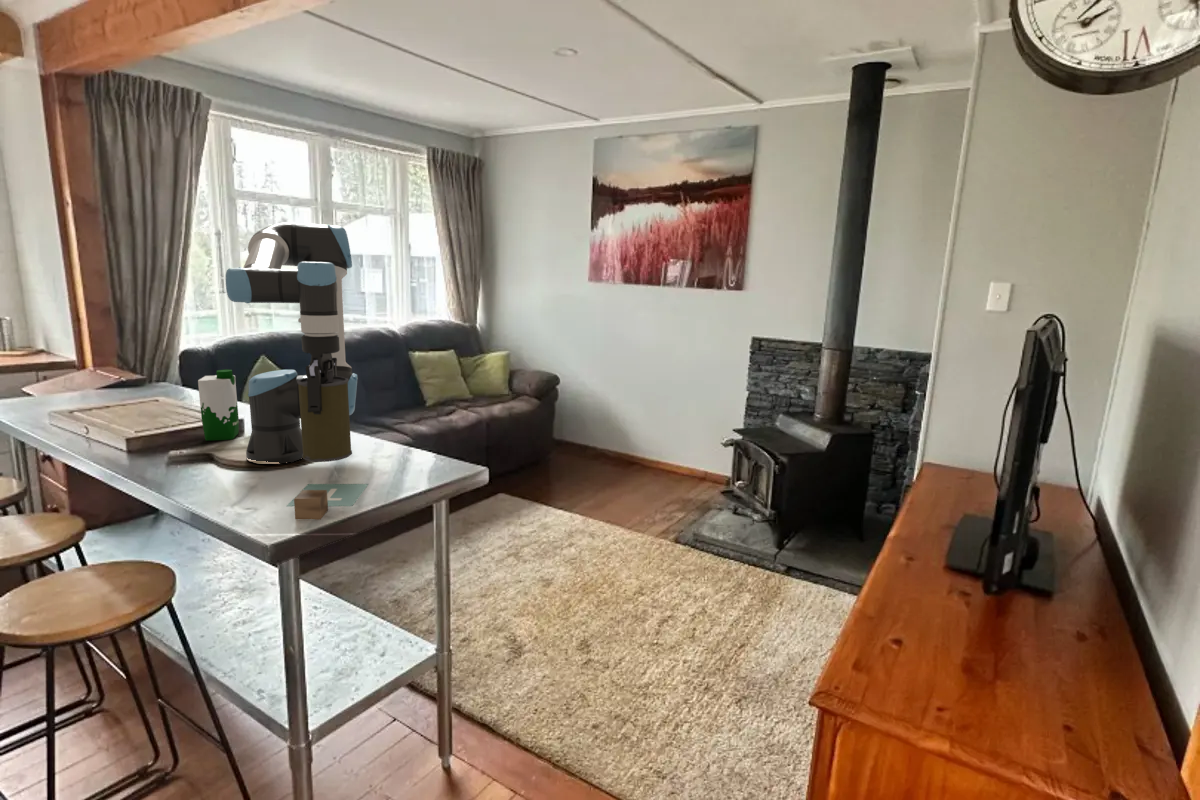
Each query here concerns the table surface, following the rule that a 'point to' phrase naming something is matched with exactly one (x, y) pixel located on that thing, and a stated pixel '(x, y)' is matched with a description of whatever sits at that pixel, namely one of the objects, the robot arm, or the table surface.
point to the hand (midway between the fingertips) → (326, 436)
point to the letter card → (338, 493)
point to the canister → (326, 421)
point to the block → (311, 504)
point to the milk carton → (219, 406)
